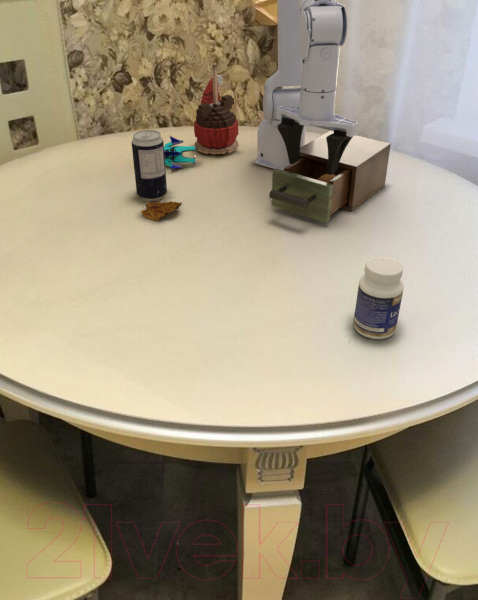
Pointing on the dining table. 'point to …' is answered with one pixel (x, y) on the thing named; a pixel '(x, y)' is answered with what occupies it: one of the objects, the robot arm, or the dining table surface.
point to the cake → (215, 120)
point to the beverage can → (149, 165)
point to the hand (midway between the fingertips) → (312, 167)
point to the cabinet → (356, 164)
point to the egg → (326, 178)
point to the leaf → (159, 209)
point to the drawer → (310, 189)
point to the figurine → (177, 153)
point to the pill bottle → (379, 298)
